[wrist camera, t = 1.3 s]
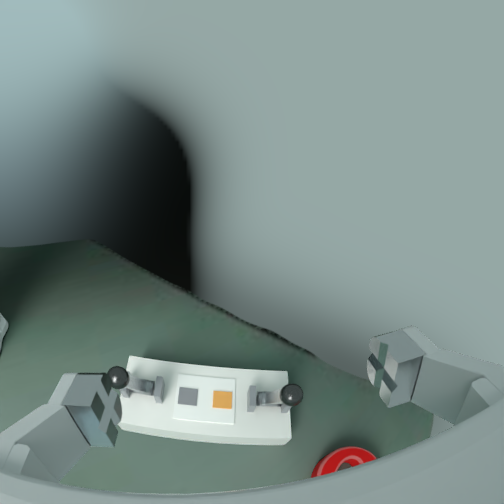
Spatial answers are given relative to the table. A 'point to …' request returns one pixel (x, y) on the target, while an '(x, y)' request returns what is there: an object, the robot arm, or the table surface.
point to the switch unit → (205, 404)
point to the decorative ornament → (342, 459)
